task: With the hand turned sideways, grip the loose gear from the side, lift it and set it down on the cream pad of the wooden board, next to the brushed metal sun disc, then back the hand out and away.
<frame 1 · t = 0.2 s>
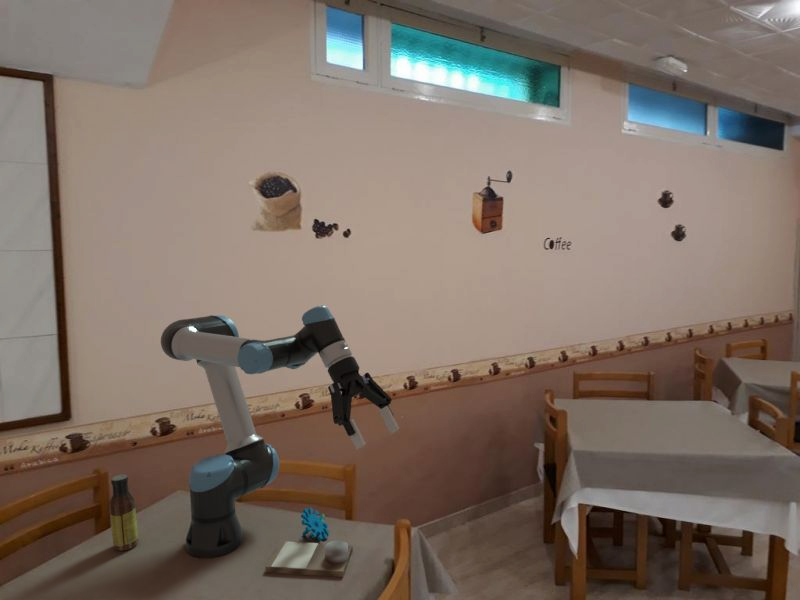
hand: (379, 438, 136), 35 cm above the table, tool tilted 35°, fingers open, 13 cm apart
sauce bottle: (125, 546, 154), on the table
wooden board: (310, 561, 146), on the table
gear: (315, 536, 159), on the table
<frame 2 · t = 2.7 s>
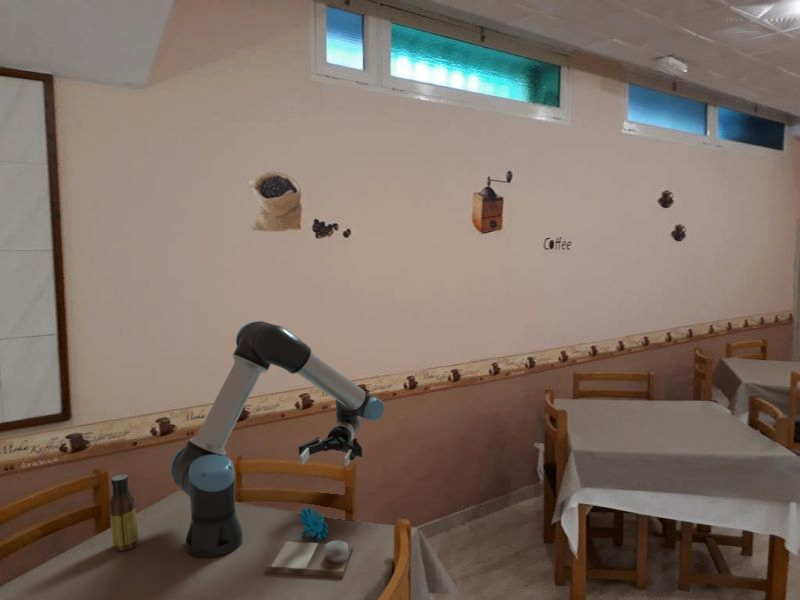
hand: (323, 461, 166), 18 cm above the table, tool horizontal, fingers open, 13 cm apart
nothing on the table moved.
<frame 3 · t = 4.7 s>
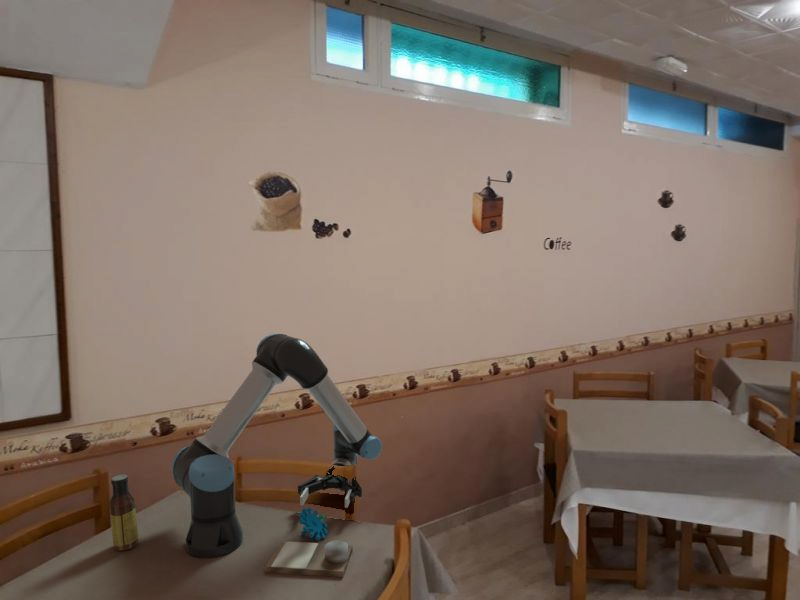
hand: (323, 502, 166), 6 cm above the table, tool horizontal, fingers open, 13 cm apart
nothing on the table moved.
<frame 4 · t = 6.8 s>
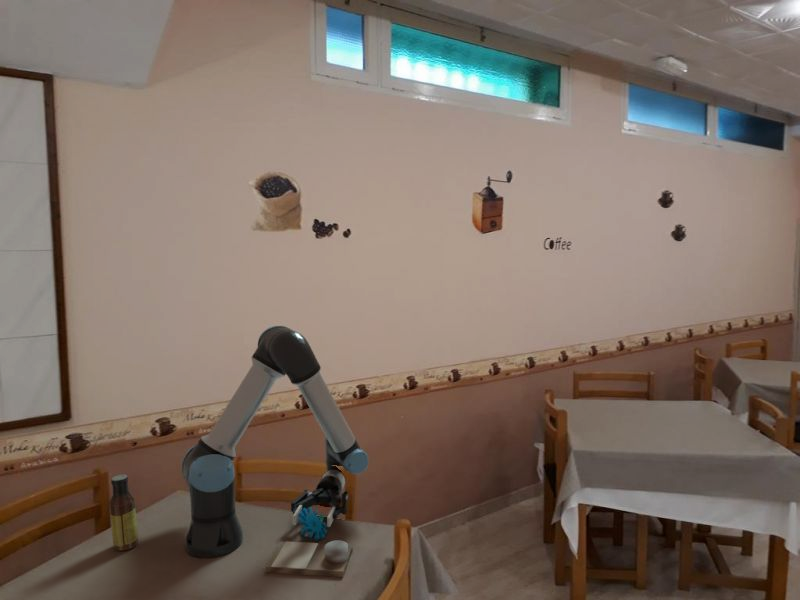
hand: (311, 521, 154), 6 cm above the table, tool horizontal, fingers open, 9 cm apart
gear: (314, 535, 159), on the table, touching gripper
everything else where it was.
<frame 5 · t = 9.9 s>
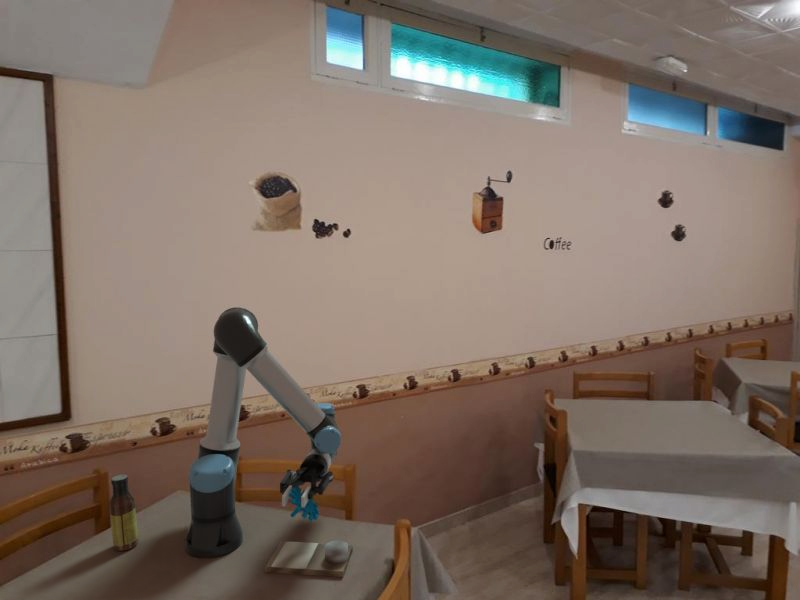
hand: (293, 501, 141), 18 cm above the table, tool horizontal, fingers closed on gear, 4 cm apart
gear: (305, 517, 147), point 11 cm above the table, touching gripper
everything else where it was.
when the fingers open (9 cm above the table, at t = 12.7 s): gear drops 1 cm, resting on wooden board.
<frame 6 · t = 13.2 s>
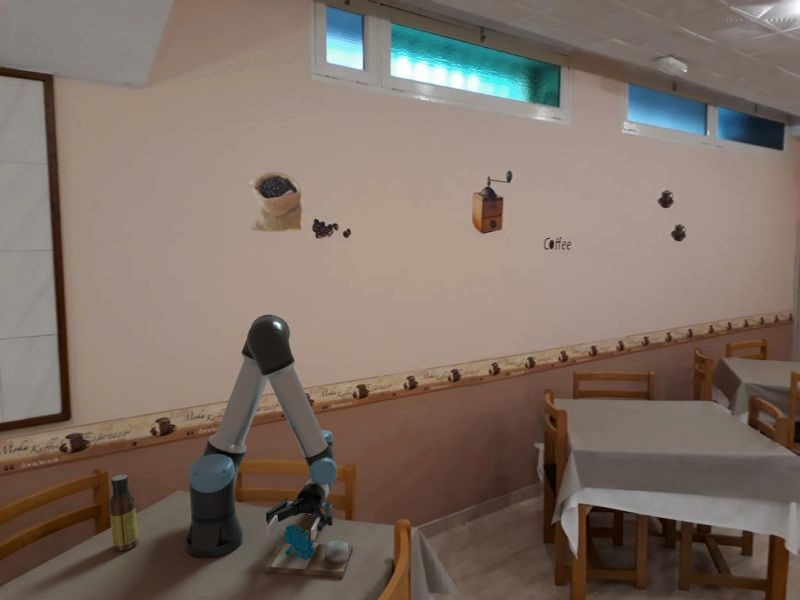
hand: (290, 533, 142), 9 cm above the table, tool horizontal, fingers open, 11 cm apart
gear: (300, 555, 146), point 1 cm above the table, touching wooden board
everything else where it was.
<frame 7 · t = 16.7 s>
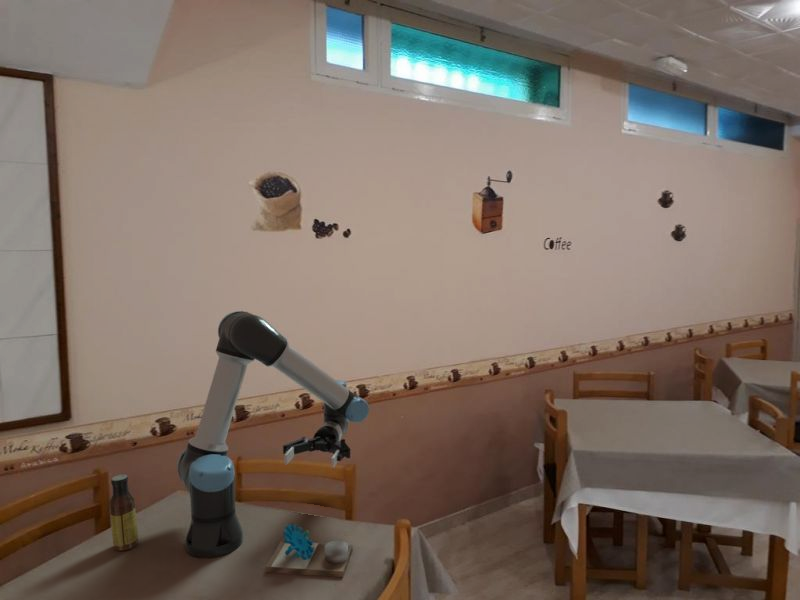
hand: (309, 461, 156), 22 cm above the table, tool horizontal, fingers open, 13 cm apart
nothing on the table moved.
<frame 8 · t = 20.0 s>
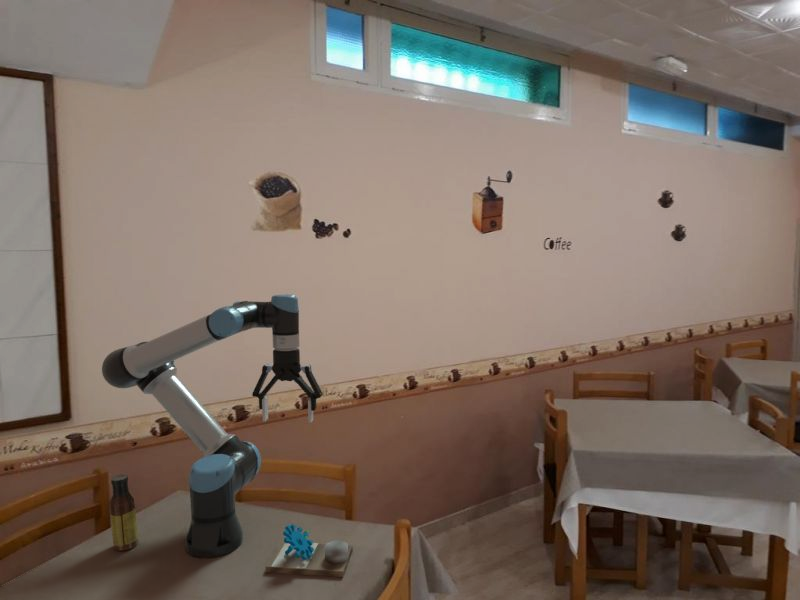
hand: (288, 420, 162), 32 cm above the table, tool pointing down, fingers open, 13 cm apart
nothing on the table moved.
at the end: gear inside the target area on the wooden board (1.1 cm from its centre), point 1.5 cm above the wooden board's base; gear tilted 1°; the gripper is holding nothing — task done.
